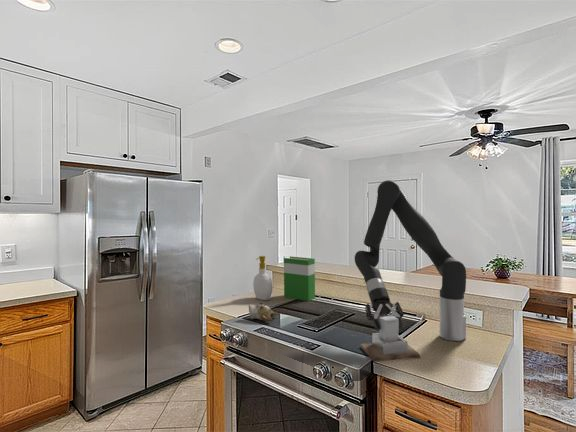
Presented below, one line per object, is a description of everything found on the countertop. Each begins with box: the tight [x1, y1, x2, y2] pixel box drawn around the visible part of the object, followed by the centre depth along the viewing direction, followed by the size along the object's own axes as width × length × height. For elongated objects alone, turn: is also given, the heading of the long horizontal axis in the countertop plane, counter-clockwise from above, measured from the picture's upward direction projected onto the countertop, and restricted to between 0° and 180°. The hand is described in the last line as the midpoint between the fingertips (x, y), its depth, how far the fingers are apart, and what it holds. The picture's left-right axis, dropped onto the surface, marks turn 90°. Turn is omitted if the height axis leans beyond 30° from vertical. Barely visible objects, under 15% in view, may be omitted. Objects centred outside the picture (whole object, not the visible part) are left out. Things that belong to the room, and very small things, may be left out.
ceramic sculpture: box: [248, 302, 280, 323], centre depth 173 cm, size 11×9×15 cm
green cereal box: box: [283, 255, 316, 302], centre depth 212 cm, size 18×7×24 cm, turn 55°
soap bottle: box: [253, 255, 273, 301], centre depth 209 cm, size 14×9×26 cm, turn 47°
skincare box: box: [378, 315, 400, 342], centre depth 133 cm, size 6×4×12 cm
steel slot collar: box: [371, 332, 408, 356], centre depth 133 cm, size 9×10×4 cm
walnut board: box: [360, 342, 421, 362], centre depth 133 cm, size 18×13×1 cm
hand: (389, 328), depth 133 cm, fingers open, 8 cm apart
